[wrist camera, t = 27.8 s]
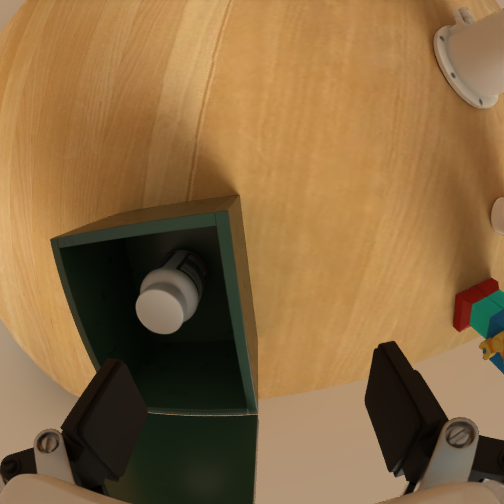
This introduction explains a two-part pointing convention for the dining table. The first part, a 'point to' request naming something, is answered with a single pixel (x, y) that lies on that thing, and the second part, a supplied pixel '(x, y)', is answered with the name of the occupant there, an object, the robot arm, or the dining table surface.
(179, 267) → the pill bottle
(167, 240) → the box
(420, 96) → the dining table surface
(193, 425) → the lid
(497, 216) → the drinking glass
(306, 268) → the dining table surface
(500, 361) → the toy robot
